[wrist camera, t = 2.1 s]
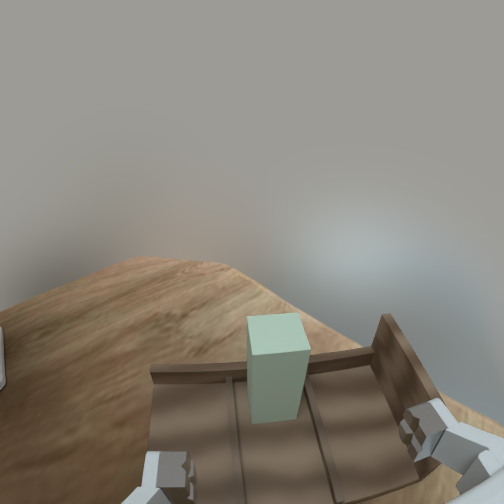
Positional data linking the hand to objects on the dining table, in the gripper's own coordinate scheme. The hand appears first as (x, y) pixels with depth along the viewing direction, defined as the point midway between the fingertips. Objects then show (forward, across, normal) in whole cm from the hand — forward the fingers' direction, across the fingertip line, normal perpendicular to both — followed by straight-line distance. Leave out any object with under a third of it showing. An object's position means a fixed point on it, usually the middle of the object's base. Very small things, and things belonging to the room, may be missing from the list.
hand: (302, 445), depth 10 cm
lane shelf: (+15, -1, +21) cm, 26 cm away
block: (+19, -1, +18) cm, 26 cm away
